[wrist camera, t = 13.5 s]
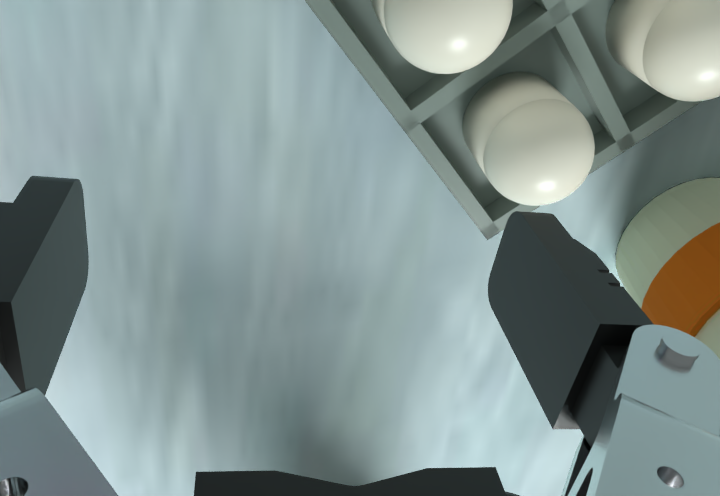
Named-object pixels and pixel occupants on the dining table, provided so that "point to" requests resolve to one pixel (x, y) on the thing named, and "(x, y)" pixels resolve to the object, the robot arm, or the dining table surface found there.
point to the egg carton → (528, 85)
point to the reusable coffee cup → (677, 260)
